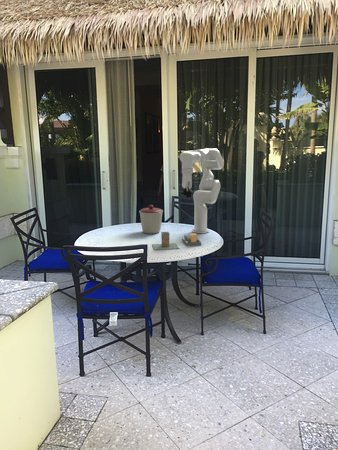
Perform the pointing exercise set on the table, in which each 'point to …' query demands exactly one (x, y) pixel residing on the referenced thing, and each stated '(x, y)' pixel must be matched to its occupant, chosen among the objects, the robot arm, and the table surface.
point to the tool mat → (159, 247)
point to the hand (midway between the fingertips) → (187, 196)
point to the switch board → (188, 241)
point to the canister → (151, 219)
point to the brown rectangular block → (165, 239)
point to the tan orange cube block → (193, 237)
